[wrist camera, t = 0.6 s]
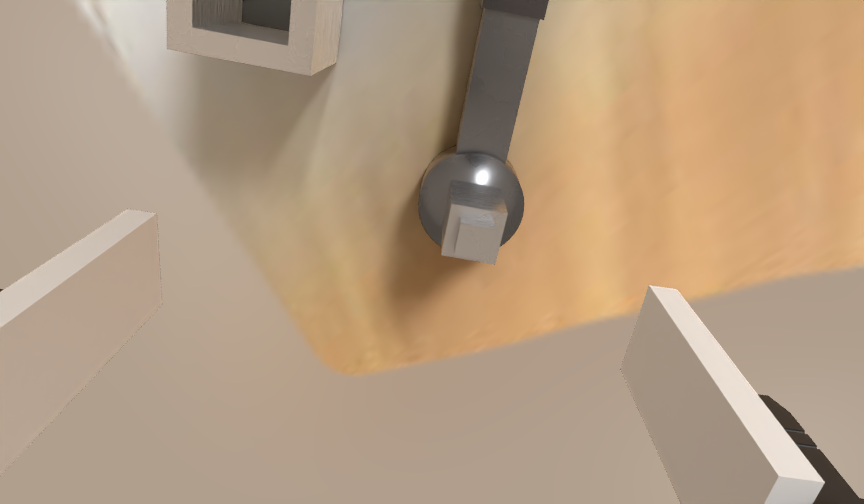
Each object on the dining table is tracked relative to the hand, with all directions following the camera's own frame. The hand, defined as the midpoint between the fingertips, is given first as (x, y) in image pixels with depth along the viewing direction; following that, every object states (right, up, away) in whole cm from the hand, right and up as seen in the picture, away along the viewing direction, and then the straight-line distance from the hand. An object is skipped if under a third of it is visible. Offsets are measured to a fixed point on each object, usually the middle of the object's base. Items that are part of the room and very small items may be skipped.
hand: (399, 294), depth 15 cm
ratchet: (+5, +11, +19) cm, 23 cm away
